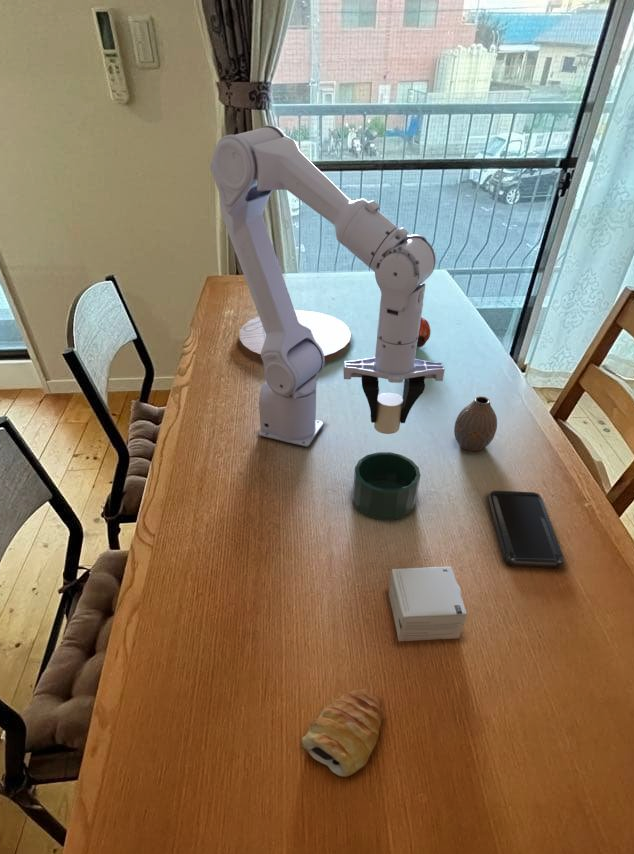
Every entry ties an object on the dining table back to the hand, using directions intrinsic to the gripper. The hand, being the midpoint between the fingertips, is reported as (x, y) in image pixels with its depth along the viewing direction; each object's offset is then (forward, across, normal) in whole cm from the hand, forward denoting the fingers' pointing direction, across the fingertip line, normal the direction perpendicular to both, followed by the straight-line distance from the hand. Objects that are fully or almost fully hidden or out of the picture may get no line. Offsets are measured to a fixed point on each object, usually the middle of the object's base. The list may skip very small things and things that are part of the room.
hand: (387, 419), depth 87 cm
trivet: (+8, -16, +45) cm, 48 cm away
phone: (+8, +20, -16) cm, 27 cm away
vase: (+9, +16, +6) cm, 19 cm away
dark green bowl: (+8, 0, -9) cm, 13 cm away
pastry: (+9, -8, -48) cm, 50 cm away
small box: (+9, +3, -32) cm, 33 cm away
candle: (+1, 0, 0) cm, 1 cm away
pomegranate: (+9, +9, +42) cm, 44 cm away
